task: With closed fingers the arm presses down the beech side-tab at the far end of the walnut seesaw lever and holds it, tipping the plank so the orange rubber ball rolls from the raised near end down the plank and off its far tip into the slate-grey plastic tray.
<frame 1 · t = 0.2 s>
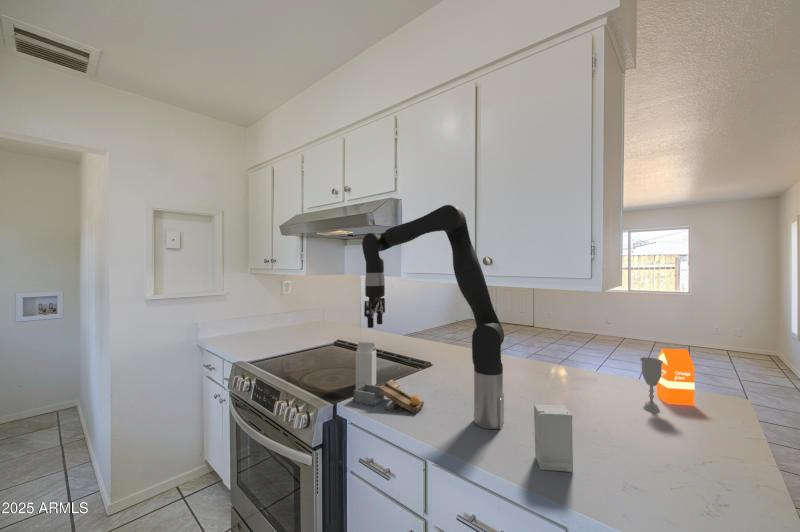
hand: (375, 325, 130), 29 cm above the worktop, tool pointing down, fingers open, 8 cm apart
fulcrum: (396, 406, 123), on the worktop
milk carton: (366, 386, 143), on the worktop
lever: (403, 394, 125), point 4 cm above the worktop, hinge at -19.0°, touching ball
chalice: (651, 410, 120), on the worktop
orange juice: (674, 401, 129), on the worktop
ball: (415, 400, 120), point 3 cm above the worktop, touching lever
tray: (369, 400, 128), on the worktop
skincare box: (552, 465, 87), on the worktop
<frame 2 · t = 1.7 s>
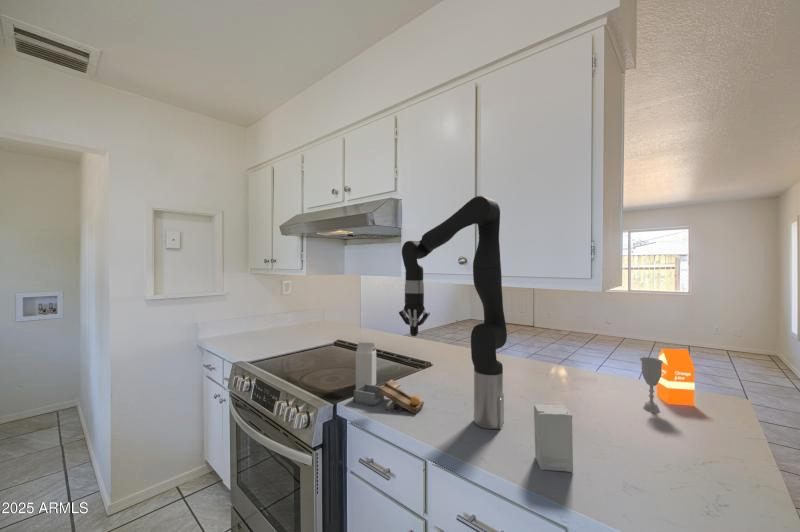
hand: (414, 335, 131), 25 cm above the worktop, tool pointing down, fingers closed
nothing on the worktop moved.
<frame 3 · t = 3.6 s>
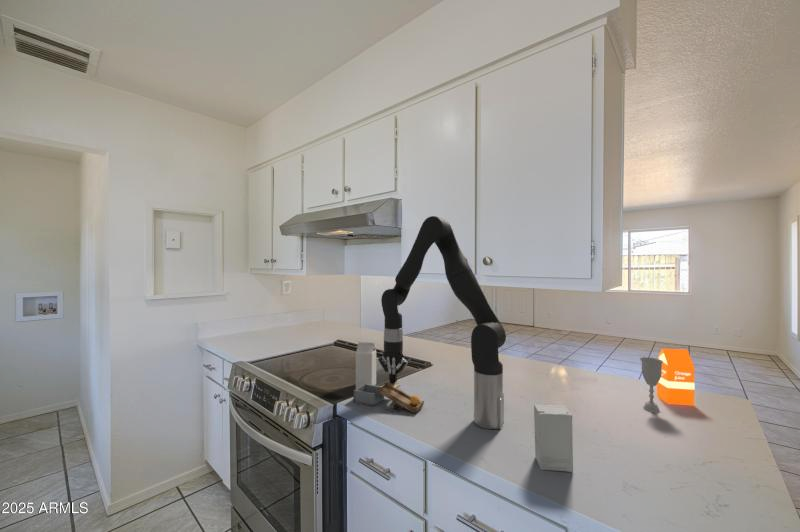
hand: (393, 382, 131), 6 cm above the worktop, tool pointing down, fingers closed
lever: (403, 393, 125), point 4 cm above the worktop, hinge at -18.0°, touching ball, gripper
everything else where it was.
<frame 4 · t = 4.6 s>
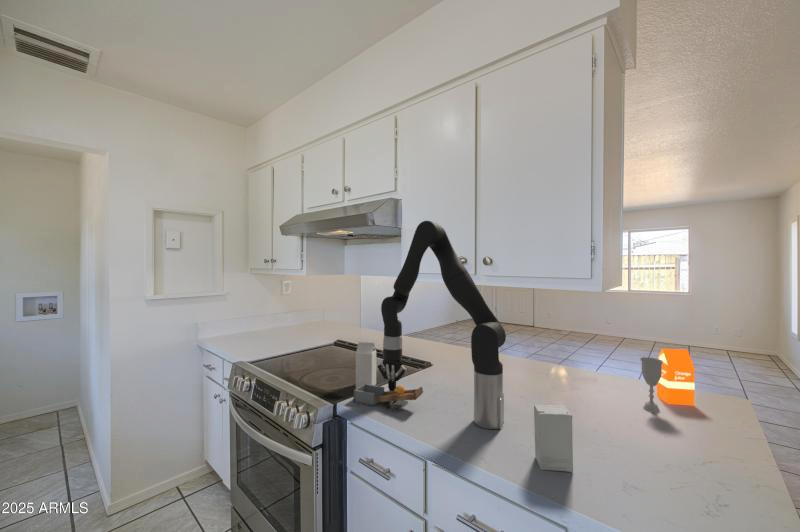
hand: (392, 390, 131), 3 cm above the worktop, tool pointing down, fingers closed
lever: (402, 392, 125), point 5 cm above the worktop, hinge at 13.3°, touching ball, gripper
ball: (400, 390, 122), point 6 cm above the worktop, tilted 162°, touching lever
everything else where it was.
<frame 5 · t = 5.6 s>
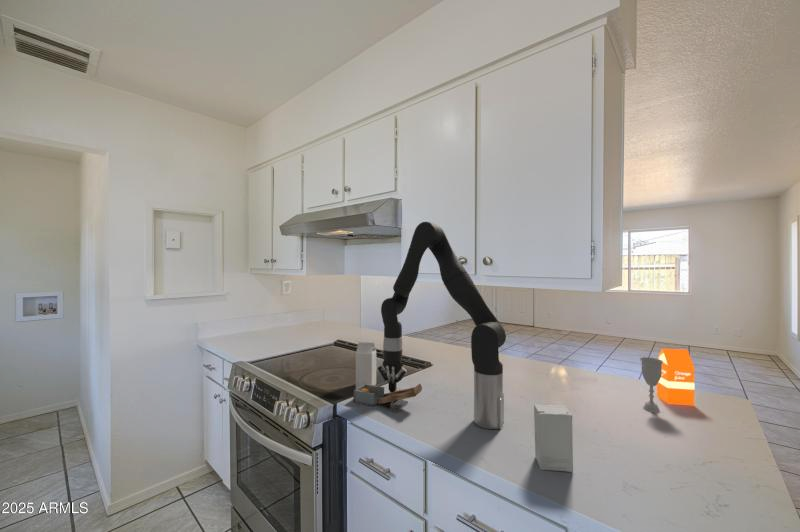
hand: (392, 391, 131), 2 cm above the worktop, tool pointing down, fingers closed
lever: (402, 391, 125), point 5 cm above the worktop, hinge at 20.4°, touching gripper
ball: (364, 393, 129), point 2 cm above the worktop, tilted 18°, touching tray
everything else where it was.
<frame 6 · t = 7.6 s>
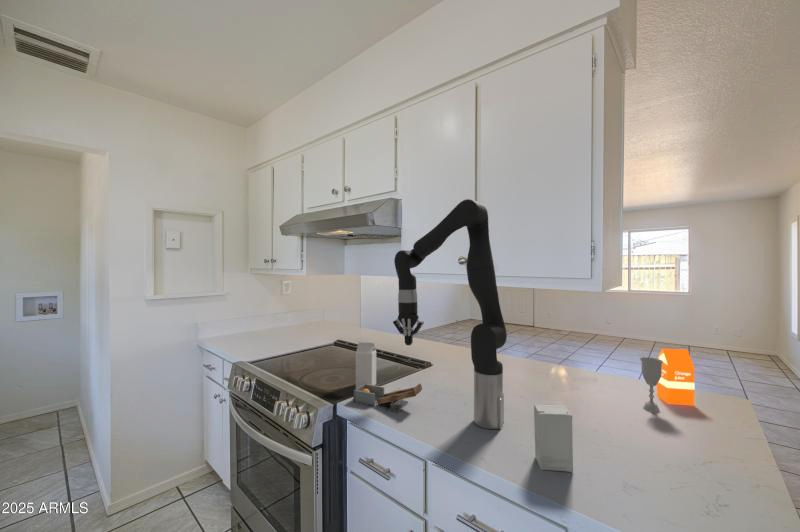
hand: (408, 344, 131), 21 cm above the worktop, tool pointing down, fingers closed
lever: (402, 391, 125), point 5 cm above the worktop, hinge at 20.7°
ball: (365, 393, 129), point 2 cm above the worktop, tilted 8°, touching tray
everything else where it was.
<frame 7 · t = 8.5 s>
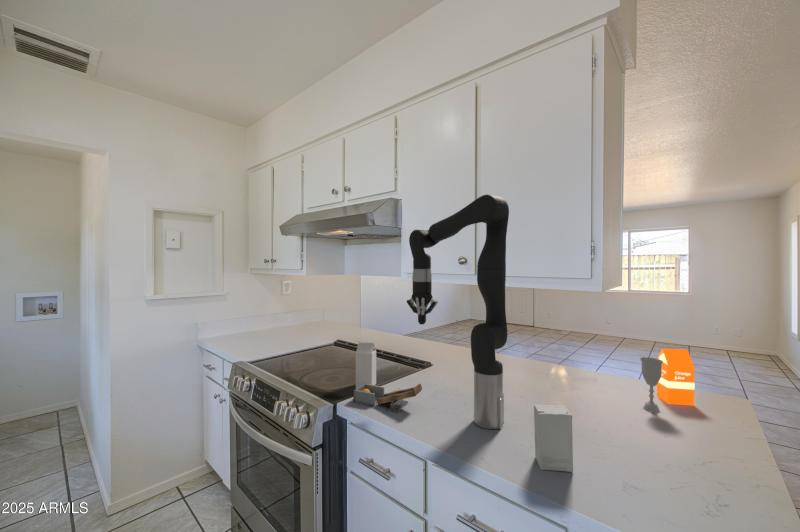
hand: (421, 324, 131), 29 cm above the worktop, tool pointing down, fingers closed
nothing on the worktop moved.
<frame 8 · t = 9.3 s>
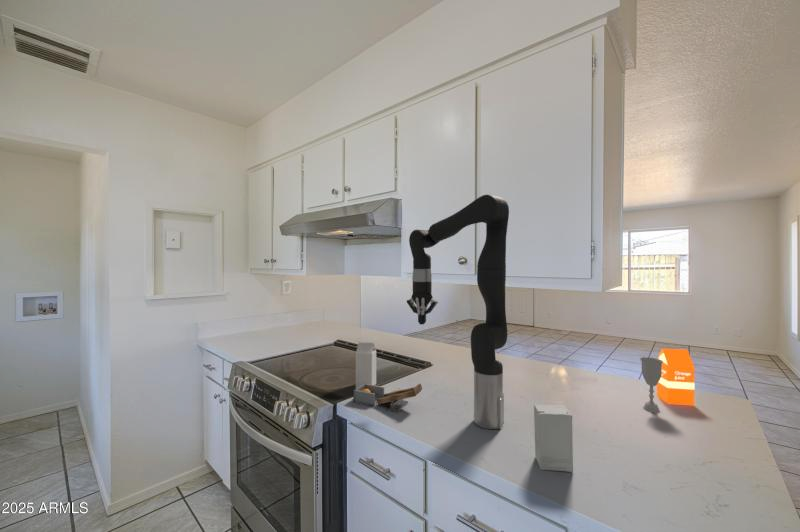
hand: (421, 324, 131), 29 cm above the worktop, tool pointing down, fingers closed
nothing on the worktop moved.
at the end: ball inside the target area on the tray (1.7 cm from its centre), point 2.3 cm above the tray's base; ball touching tray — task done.
